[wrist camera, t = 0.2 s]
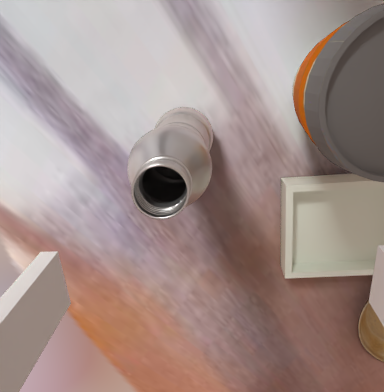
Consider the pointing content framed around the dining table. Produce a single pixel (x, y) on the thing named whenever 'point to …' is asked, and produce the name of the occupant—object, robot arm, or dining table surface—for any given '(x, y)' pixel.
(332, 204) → the tray
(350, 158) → the reusable coffee cup
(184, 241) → the dining table surface
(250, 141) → the dining table surface
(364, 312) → the plant saucer
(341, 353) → the dining table surface
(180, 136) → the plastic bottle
